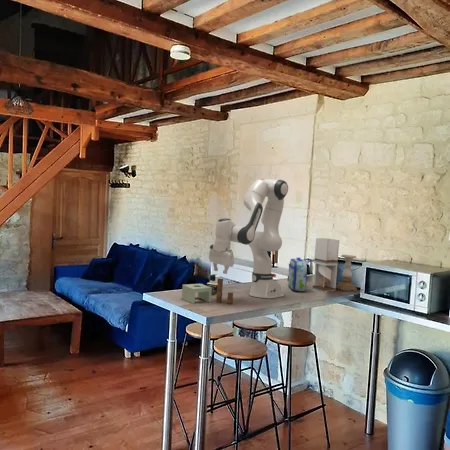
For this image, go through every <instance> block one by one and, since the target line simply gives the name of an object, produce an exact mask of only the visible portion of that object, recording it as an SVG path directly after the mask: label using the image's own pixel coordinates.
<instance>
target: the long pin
mask: <svg viewBox="0 0 450 450" xmlns="http://www.w3.org/2000/svg"><path fill="white" fill-rule="evenodd" d="M223 287H224V279H223V278H220V279H218V282H217V296H216V300H215V301H216V303H218V304H219V303H220V304H221V303H222V302H223V301H222V300H223Z"/></svg>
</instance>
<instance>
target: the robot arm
mask: <svg viewBox="0 0 450 450" xmlns="http://www.w3.org/2000/svg"><path fill="white" fill-rule="evenodd" d="M288 191H289V186H288V182H286V181H285V180H283V179H276V178H260V179H255V180H254V181H253V183H252V184H251V186H250V187H249V188H248V189H247V191H246V194H245V195H244V197H243V205H244V206H245V208H246V209H247V210H249V211H250V215H249V218H248V220H247V223H246V224H245V225H239V224H236V223H235V222H233V221H232V219H231V218H226V217H225V218H219V219H218V220H217V222H216V226H215V240H214V243H213V244H210V245H209V254H208V261H209V262H210V263H212V265H213V271H214V272H218V270H219V267H218V265H221V266H224V269H223V270H222V274H224V275H228V271H229V269H230V267H234V264H235V258H234V251H233V250H232V249H231V243H232V242H233V243H237V244H238V243H239V244H242V245H245V246H246V245H248V246H249V247H250V250H251V253H252V258H253V263H252V264H253V267H252V268H253V271H252V273H251V287H250V290H249V293H248V295H249V296H251V297H255V298H261V299H274V298H275V299H276V298H281V297H285V294H284V293H282V288H281V285H280V284H278V283H277V281H276V280H274V278H276V277H277V274H276V273H272V265H273V263H272V262H273V261H272V259H271V257H270V256H269V253H268V252H277V251H279V250H280V249H282V248H281V247H282V246H283V240H282V237H281V235H280V233H279V232H280V231H279V225H280V221H281V217H282V214H283V210H284V204H285V198H286V196H287V194H288ZM266 197H267V200H266ZM265 200H266V202H265V203H266V204H265V207H264V210H263V203H264V201H265ZM260 219H261V223H262V225H263V231H256V230H257V228H258V225H259V223H260Z"/></svg>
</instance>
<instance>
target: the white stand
mask: <svg viewBox="0 0 450 450" xmlns="http://www.w3.org/2000/svg"><path fill="white" fill-rule="evenodd" d="M339 247H340V239H335V238H325V237H324V238H323V237H321V238H320V237H319V238H317V237H316V238H315V246H314V248H315V249H314V259H313V261H314V262H313V263H314V279H313V285H312V287H311V288H312V289H313V290H315V291H319V292H322V291H323V293H326V292H325V291H331V292H336V289H337V288H336V285H337V277H338V276H337V274H338V262H339V261H338V260H339V249H340V248H339Z"/></svg>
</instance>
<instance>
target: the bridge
mask: <svg viewBox="0 0 450 450" xmlns="http://www.w3.org/2000/svg"><path fill="white" fill-rule="evenodd" d="M181 292H182V293H181V299H182V300H183V301H186V302H188V303H190V304H193V305H194V304H195V302H196V293H197V298H198V299H200V298H201V299H200V300H203V301H204V302H207V303H211V302H212V295H211V294H212V288H211V287H209V286H207V284H206V285H205V284H203V283H189V284H182V290H181Z"/></svg>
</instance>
